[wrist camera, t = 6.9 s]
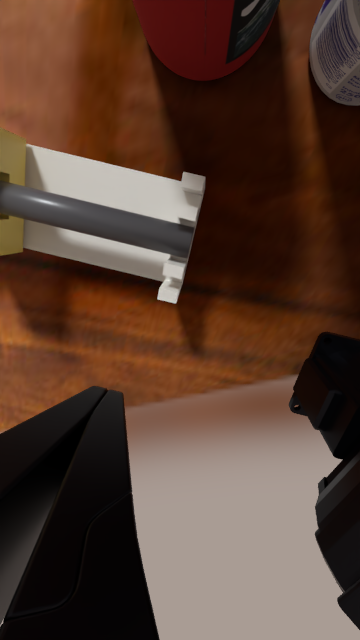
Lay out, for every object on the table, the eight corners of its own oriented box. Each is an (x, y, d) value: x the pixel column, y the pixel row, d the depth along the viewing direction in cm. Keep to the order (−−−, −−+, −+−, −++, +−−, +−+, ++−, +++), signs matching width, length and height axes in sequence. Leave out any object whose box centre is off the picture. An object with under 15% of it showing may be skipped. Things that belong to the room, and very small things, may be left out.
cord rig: (205, 188, 17) (205, 175, 12) (182, 284, 19) (174, 306, 14) (-56, 124, 17) (-161, 86, 12) (-50, 228, 19) (-138, 230, 14)
